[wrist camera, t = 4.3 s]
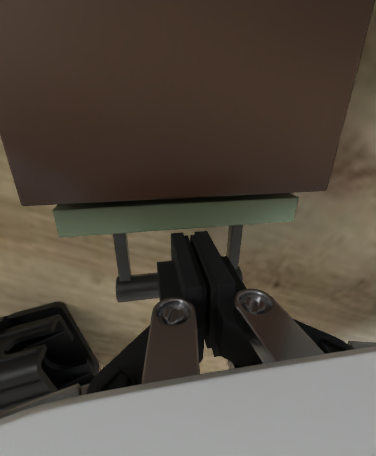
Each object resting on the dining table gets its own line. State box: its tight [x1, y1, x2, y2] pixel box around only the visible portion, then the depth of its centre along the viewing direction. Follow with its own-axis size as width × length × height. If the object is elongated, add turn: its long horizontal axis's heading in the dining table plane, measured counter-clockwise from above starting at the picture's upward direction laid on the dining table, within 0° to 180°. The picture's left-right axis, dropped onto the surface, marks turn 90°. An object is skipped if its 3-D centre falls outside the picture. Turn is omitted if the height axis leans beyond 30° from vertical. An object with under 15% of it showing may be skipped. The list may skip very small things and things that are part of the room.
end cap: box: [0, 302, 99, 413], centre depth 19 cm, size 10×7×7 cm
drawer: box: [53, 193, 298, 302], centre depth 12 cm, size 19×10×7 cm, turn 0°
